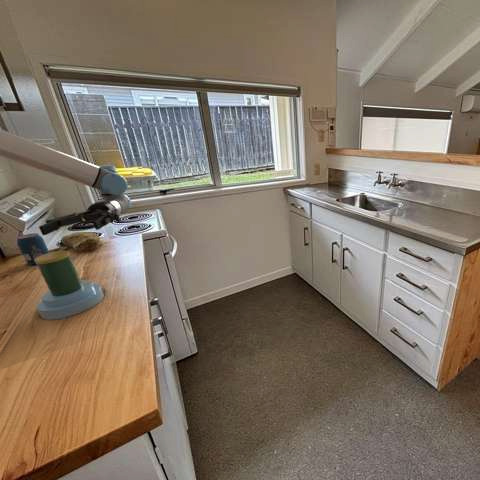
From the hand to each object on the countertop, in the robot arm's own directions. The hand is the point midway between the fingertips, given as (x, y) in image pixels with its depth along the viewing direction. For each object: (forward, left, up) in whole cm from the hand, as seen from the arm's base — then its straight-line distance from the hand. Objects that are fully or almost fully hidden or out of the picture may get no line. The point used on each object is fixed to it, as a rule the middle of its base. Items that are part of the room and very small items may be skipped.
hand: (69, 228), depth 77 cm
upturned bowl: (-4, -9, -21) cm, 23 cm away
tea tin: (-4, -9, -16) cm, 18 cm away
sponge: (-8, +50, -21) cm, 55 cm away
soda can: (-20, +38, -21) cm, 48 cm away
